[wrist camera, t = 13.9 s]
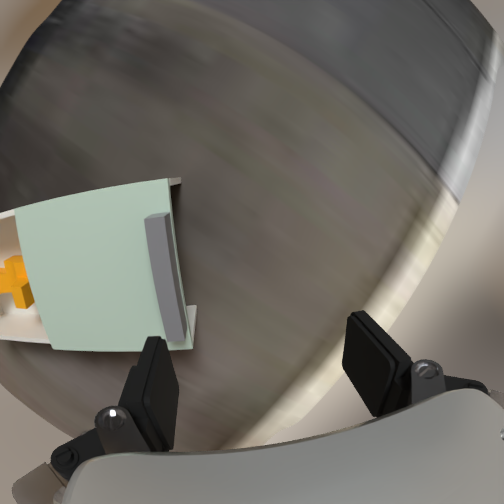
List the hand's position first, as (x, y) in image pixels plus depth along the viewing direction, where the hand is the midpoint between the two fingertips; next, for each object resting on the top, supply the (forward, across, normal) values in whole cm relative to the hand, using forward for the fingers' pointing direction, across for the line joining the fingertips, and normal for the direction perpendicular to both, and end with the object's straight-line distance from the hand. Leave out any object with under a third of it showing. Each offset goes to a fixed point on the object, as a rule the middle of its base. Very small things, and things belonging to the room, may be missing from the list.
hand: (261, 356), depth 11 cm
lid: (+13, +13, 0) cm, 18 cm away
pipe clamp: (+20, +30, +1) cm, 36 cm away
